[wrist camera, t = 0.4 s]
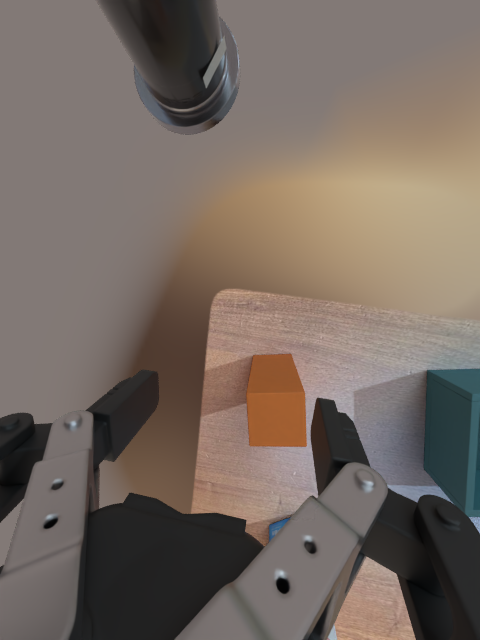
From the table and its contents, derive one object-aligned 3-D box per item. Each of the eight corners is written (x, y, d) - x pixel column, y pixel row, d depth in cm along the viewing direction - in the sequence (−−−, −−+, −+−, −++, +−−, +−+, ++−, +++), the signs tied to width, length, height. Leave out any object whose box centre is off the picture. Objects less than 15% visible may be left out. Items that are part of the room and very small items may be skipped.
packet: (253, 355, 33) (246, 393, 22) (291, 353, 33) (305, 392, 21) (255, 390, 34) (249, 446, 22) (292, 389, 34) (306, 447, 22)
